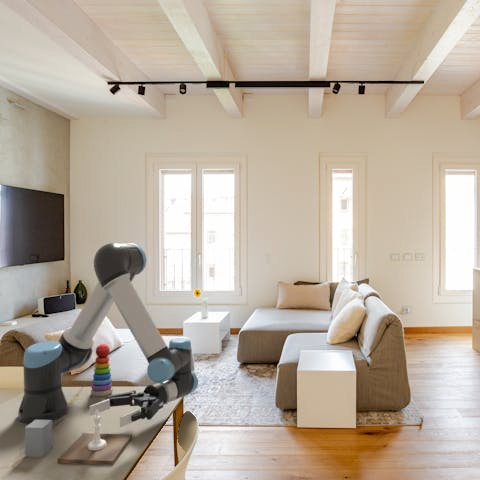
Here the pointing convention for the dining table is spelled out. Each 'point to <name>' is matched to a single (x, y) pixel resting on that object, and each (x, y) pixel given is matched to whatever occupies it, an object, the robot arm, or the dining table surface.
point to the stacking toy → (102, 373)
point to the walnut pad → (102, 456)
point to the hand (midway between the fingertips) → (105, 416)
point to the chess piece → (97, 435)
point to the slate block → (38, 438)
